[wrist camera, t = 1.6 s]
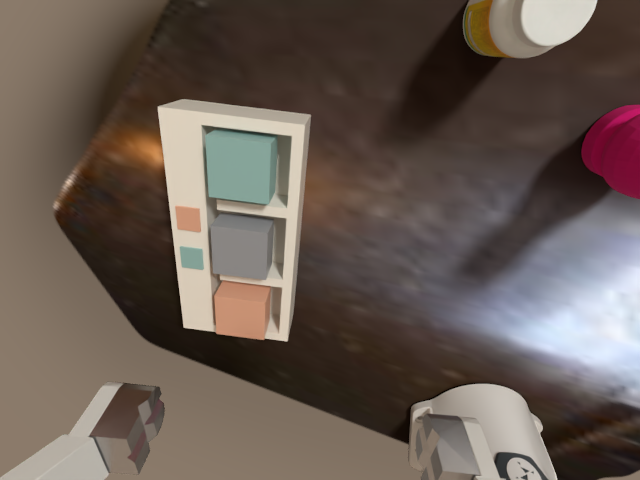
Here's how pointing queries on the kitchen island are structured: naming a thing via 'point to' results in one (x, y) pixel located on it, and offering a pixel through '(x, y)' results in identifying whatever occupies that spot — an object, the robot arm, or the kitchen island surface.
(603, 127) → the pepper mill
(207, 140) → the teal key
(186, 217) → the three-slot colour tray
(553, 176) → the kitchen island surface
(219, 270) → the slate key
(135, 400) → the robot arm
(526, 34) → the supplement bottle
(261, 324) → the terracotta key
